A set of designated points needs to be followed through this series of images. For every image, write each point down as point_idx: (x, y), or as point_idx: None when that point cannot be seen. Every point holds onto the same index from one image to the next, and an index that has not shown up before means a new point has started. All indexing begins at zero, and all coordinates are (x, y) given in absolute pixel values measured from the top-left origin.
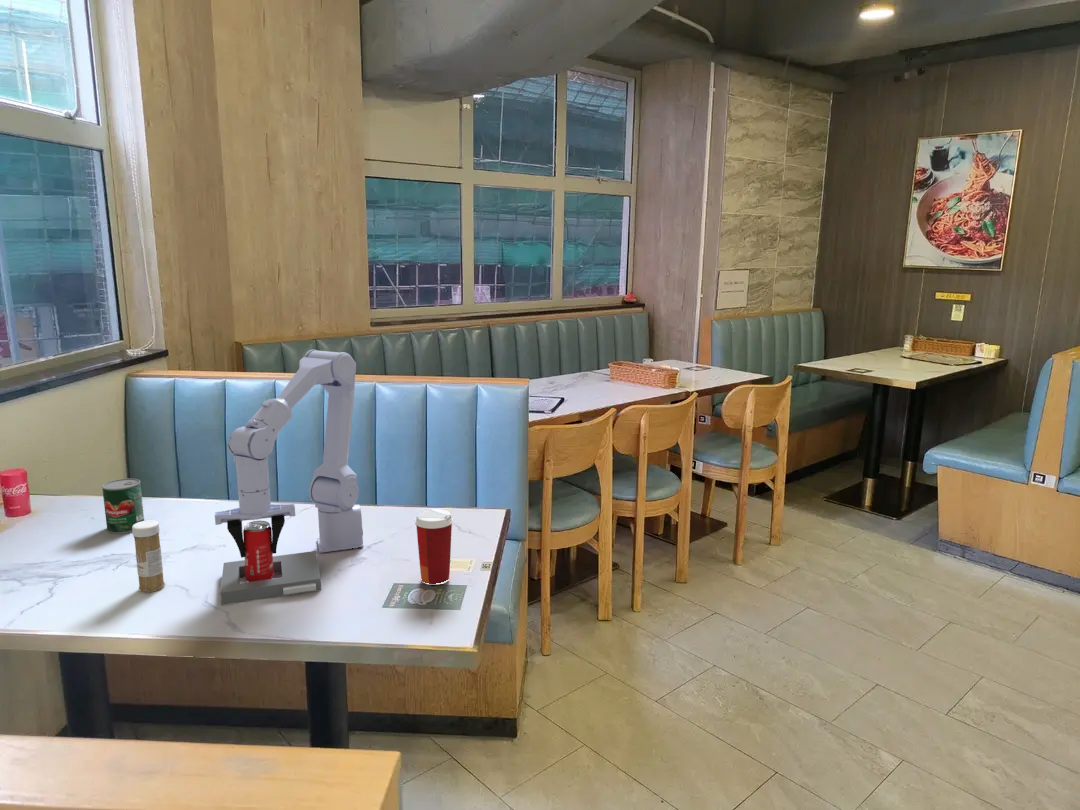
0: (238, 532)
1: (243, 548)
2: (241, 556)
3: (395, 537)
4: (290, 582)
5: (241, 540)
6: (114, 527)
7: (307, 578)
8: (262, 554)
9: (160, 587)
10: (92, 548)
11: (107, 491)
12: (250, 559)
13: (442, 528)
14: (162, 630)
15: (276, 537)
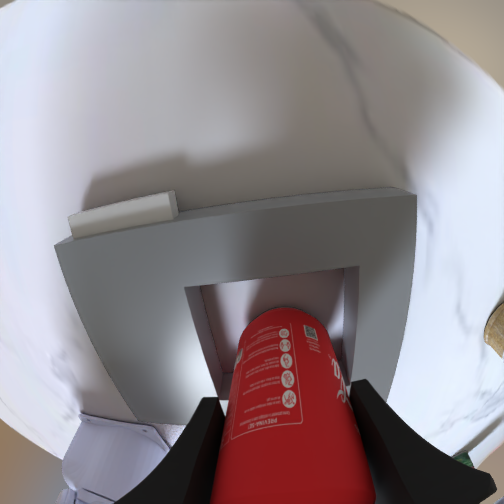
0: (431, 491)
1: (369, 414)
2: (367, 381)
3: (52, 418)
4: (140, 231)
5: (392, 451)
6: (466, 456)
7: (89, 254)
8: (264, 389)
9: (495, 315)
10: (493, 421)
11: None
12: (323, 372)
13: None
14: (488, 93)
15: (170, 464)
